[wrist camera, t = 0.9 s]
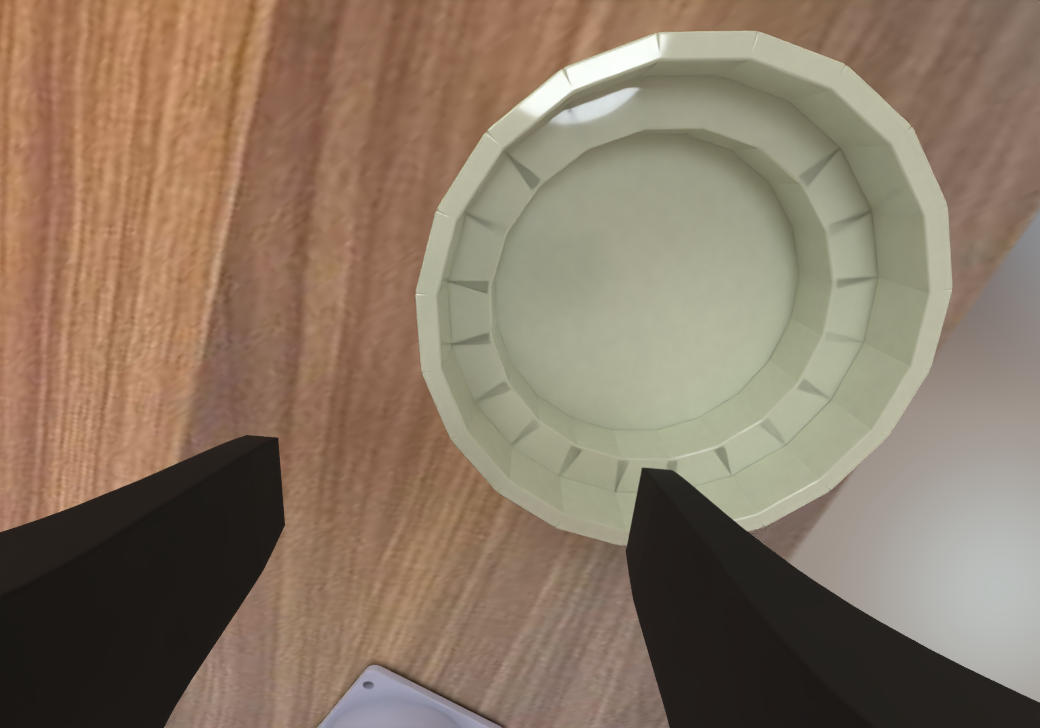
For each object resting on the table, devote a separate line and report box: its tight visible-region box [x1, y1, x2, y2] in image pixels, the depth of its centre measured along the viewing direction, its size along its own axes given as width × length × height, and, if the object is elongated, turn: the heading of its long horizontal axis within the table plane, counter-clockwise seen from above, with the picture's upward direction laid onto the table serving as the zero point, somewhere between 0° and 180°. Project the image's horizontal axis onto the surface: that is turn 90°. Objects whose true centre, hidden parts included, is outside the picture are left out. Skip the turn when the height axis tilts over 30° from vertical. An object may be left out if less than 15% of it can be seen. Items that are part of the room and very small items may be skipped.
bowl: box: [415, 30, 952, 546], centre depth 17 cm, size 14×14×5 cm
